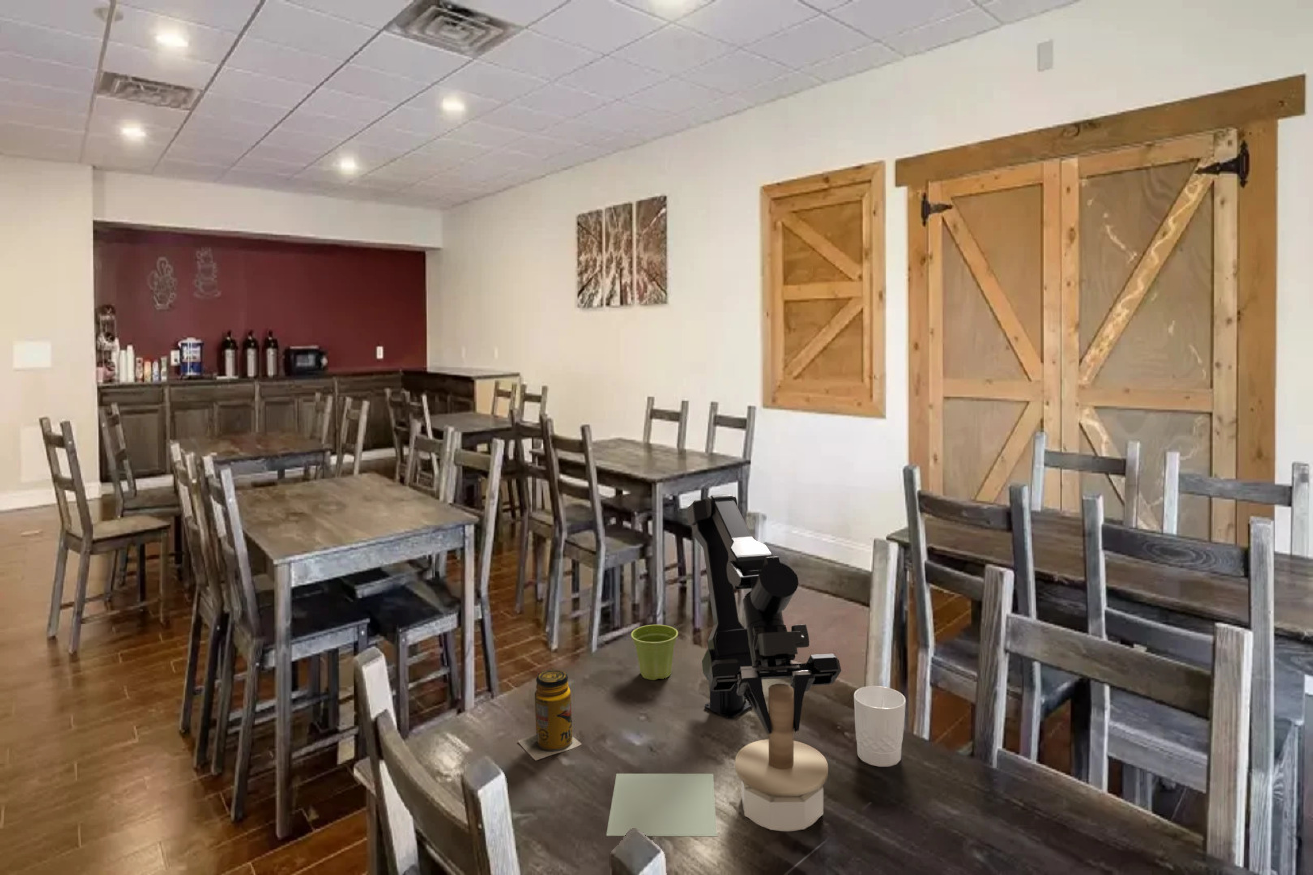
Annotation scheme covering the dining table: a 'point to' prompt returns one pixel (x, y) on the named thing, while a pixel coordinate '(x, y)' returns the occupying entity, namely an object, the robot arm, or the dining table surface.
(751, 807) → the ceramic bowl
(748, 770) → the birch cover
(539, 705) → the condiment
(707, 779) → the sage mat
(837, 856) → the dining table surface
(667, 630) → the plant pot
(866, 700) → the white cup
